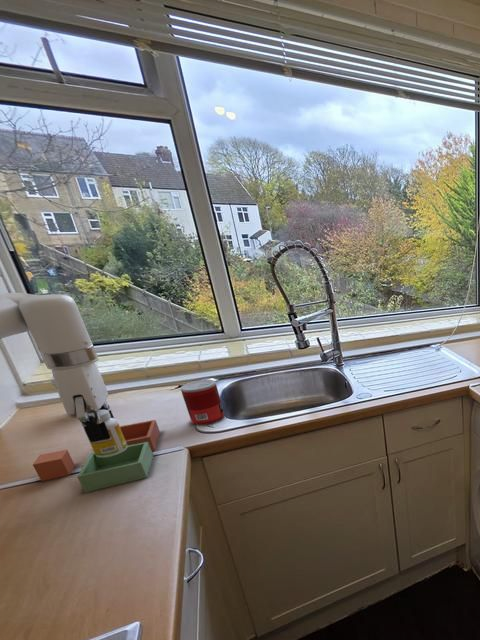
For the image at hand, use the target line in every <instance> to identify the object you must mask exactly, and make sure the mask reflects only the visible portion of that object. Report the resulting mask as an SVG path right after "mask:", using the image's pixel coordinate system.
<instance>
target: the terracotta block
mask: <svg viewBox="0 0 480 640" xmlns="http://www.w3.org/2000/svg"><path fill="white" fill-rule="evenodd" d="M32 466H33V469H34V470H35V472H36V474H37V476H38V477H39V480H40V482H45V481H50V480H54V479H59V478H64V477H68V476H70V475H71V474H72V471H73V470H74V468H75V467H76V464H75V463H74V460H73V458H72V456H71V454H70V452H69V450H68V449H64V450H57V451H52V452H48V453H43V454H39V455H38V457H37V458H36V459H35V460H34V462H33V463H32Z"/></svg>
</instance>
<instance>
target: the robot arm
mask: <svg viewBox="0 0 480 640" xmlns="http://www.w3.org/2000/svg"><path fill="white" fill-rule="evenodd" d="M26 332H29V333H30V335H31V337H32V339H33V341H34V343H35V346H36V347H37V350H38V352H39V354H40V356H41V358H42V360H43V362H44V365H45V367H46V368H47V370H51V373H52V377H53V378H54V382H55V385H56V387H55V389H56V388H57V389H56V390H57V394H58V395H59V398H60V401H61V403H62V406H63V409H64V411H65V414H66V415H68V416H75V415H74V414H75V412H76V414H77V416H76V419H77V420H78V421H79V422H80V423H81V426H82V427H83V430H84V429H85V431H86V433H85V435H86V434H87V435H86V437H87V436H88V437H87V439H88V438H89V440H90V442H96V441H101V440H106V439H110V437H111V436H110V434H109V431H108V429H107V427H106V424H105V422H102V421H101V417H100V414H99V410H108V411H109V413H110V416H111V417H110V418H114V419H115V417H114V415H113V412H112V410H111V406H110V405H109V403H108V402H107V399H108V396H109V392H108V388H107V386H106V384H105V381H104V378H103V376H102V374H101V372H100V370H99V368H98V366H97V364H96V362H98V361H100V360H99V356H98V354H97V351H96V349H95V347H94V344H93V342H92V339H91V336H90V334H89V332H88V330H87V327H86V325H85V322H84V320H83V317H82V314H81V312H80V309H79V308H78V305H77V303H76V301H75V300H74V298H73V297H71V296H70V295H67V294H62V293H61V294H59V293H56V294H51V293H49V294H40V295H39V294H32V293H24V292H6V293H1V294H0V340H1V339H2V340H3V339H5V338H8V337H11V336H14V335H18V334H23V333H26ZM87 408H90V409H91V410H89V411H87ZM89 413H94V416H95V417H93V416H89V415H88V414H89ZM85 431H84V432H85ZM89 440H88V441H89ZM90 442H89V443H90Z"/></svg>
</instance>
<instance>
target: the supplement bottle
mask: <svg viewBox="0 0 480 640" xmlns="http://www.w3.org/2000/svg"><path fill="white" fill-rule="evenodd" d="M99 414H100V417H101V421H102V422H105V424H106V427H107V429H108V431H109V434H110V436H111V437H110V439H106V440H101V441H96V442H90V440H89V438H88V436H87V434H86V431H85V429H84V428H83V430H84V433H85V435H86V437H87V440H88V441H89V444H90V447H91V448H92V451H93V453H95V455H96V456H97V457H110V456H114V455H117V454H120V453H122V452H123V451H125V450H126V449H127V447H128V446H127V443H126V441H125V438H124V436H123V434H122V431H121V429H120V426H121V425H120V424H119V422H118V420H117V419H116V418H115V417H114V418H110V417H111V416H110V413H109V411H108V410H99ZM88 415H89V416H93V417H95V416H94V413H89V414H88Z"/></svg>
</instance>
